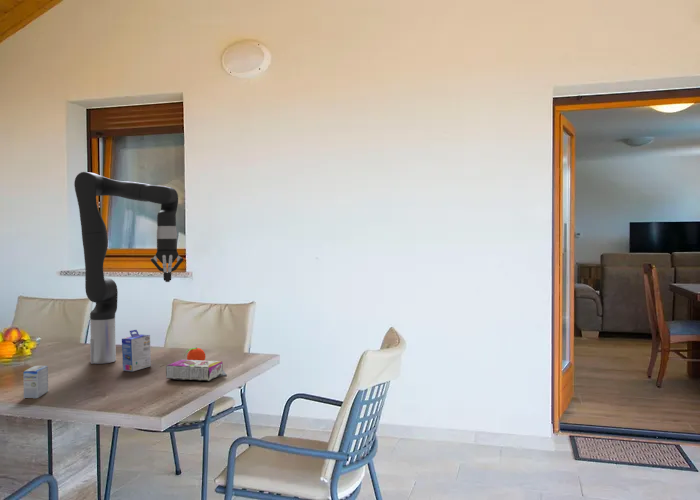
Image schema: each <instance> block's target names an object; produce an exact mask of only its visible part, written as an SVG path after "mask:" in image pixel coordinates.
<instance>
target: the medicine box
mask: <svg viewBox="0 0 700 500" xmlns="http://www.w3.org/2000/svg"><path fill="white" fill-rule="evenodd" d="M48 392H49V366H48V365H34V366H31V367H30V368H27V369H26V370H24V371H23V399H25V398H33V399H39V398H40V397H42V396H44V395H45V394H46V393H48Z"/></svg>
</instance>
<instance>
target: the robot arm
mask: <svg viewBox="0 0 700 500" xmlns="http://www.w3.org/2000/svg"><path fill="white" fill-rule="evenodd" d="M73 185H74V191H75V196H76V200H77V205H78V209H79V210H78V211H79V217H80V218H79V219H80V228H81V239H82V246H83V255H84V256H83V257H84V266H85V267H84V268H85V273H84V274H85V275H84V276H85V277H84V278H85V283H84V285H85V289H84V290H85V294H86V297H87V298H88V300H89V301H90V302H92V303H95V306H94V308H93V309H92V310H91V312H90V314H89V319H90V320H89V321H90V322H89V323H90V325H89V326H90V327H89V328H90V331H89V332H90V334H89V335H90V338H89V339H90V342H89V343H90V346H89V347H90V352H89V353H90V364H92V365H93V364H96V365H97V364H98V365H99V364H100V365H101V364H103V365H104V364H109V363H114V362H115V361H117V354H116V353H117V351H116V350H117V349H116V346H117V345H116V341H117V340H116V313H117V310H118V295H119V294H118V286H117V283H116V282H115V280H113V279H112V278H110V277H105V275H104V262H105V258H106V255H107V251H108V247H109V239H108V231H107V227H106V224H105V221H104V220H103V218H102V215H101V212H100V210H99V207H98V202H97V197H99V196H100V197H101V196H103V197H104V196H112V197H119V198H124V199H128V200H133V201H140V202H149V203H154V204H158V205H160V211H158V213H157V217H156V222H157V223H156V225H157V226H156V228H157V229H156V253H155V255H154V256H153V257H151V258H150V261H151V263H152V264H153V265H154V267H156V269H157V270H158V271H159V272H162V273H163V281H165V283H170V282H171V281H172V272H175V271H176V270H177V269H178V268H179V267H180V265H181V264H182V262H184V258H183V257H181V256H180V255H179V251H178V234H177V212H178V211H177V210H178V206H179V194H178V192H177V190H176V189H175V188H173V187H169V186H165V185H155V184H149V183H142V182H138V181H136V182H135V181H122V180H115V179H111V178H108V177H105V176H104V175H99V174H97V173H95V172H88V171H81V172H79V173H77V175H76V176H75V179H74V184H73ZM175 260H176V261H177V262H176V263H175V264H174V265H173V263H174V262H175ZM158 261H159V262H160V263H161V264H162V267H161V265H159V263H158Z"/></svg>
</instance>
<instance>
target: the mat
mask: <svg viewBox="0 0 700 500" xmlns="http://www.w3.org/2000/svg"><path fill="white" fill-rule="evenodd" d="M227 376H228V375H227V373H226V372H225V370H224V369H222V375H220V376H218V377H219V378H220V377H227ZM218 377H217V378H218ZM176 381H185V380H184V379H176Z"/></svg>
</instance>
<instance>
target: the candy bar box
mask: <svg viewBox="0 0 700 500" xmlns="http://www.w3.org/2000/svg"><path fill="white" fill-rule="evenodd" d="M223 366H224V365H223V361H221V360H205V361H202V360H187V359H179V360H177V361H175V362H171V363H169V364H166V365H165V379H166V380H167V379H170V380H177V379H184V380H183V381H185V380H188V381H189V380H190V381H205V382H206V381H208V382H209V381H212V380H213V379H215V378H218V376H220V375H222V369H223ZM223 370H224V369H223Z"/></svg>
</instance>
